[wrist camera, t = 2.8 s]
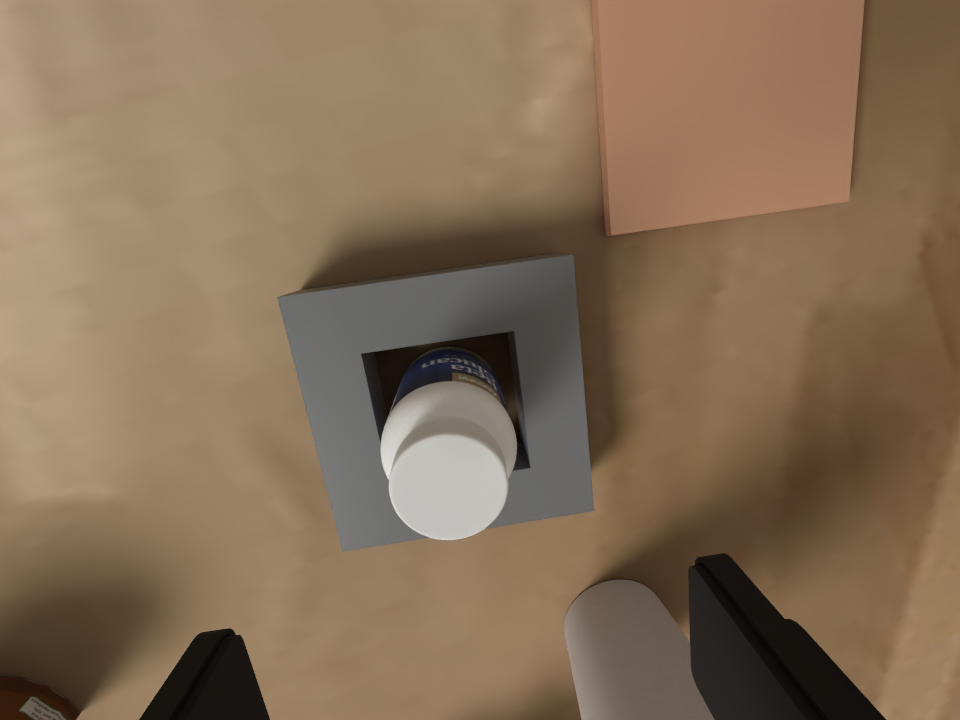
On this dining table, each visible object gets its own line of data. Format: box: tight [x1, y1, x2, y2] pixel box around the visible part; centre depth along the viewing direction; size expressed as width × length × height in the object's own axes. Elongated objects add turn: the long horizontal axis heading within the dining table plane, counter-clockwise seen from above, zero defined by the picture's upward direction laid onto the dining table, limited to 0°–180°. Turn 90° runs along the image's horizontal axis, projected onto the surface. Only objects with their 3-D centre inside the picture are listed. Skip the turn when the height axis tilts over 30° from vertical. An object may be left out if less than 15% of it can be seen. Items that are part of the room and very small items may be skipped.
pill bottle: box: [380, 347, 517, 540], centre depth 19 cm, size 5×5×10 cm
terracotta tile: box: [591, 0, 865, 236], centre depth 21 cm, size 12×12×1 cm
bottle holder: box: [277, 253, 594, 551], centre depth 23 cm, size 13×13×3 cm
